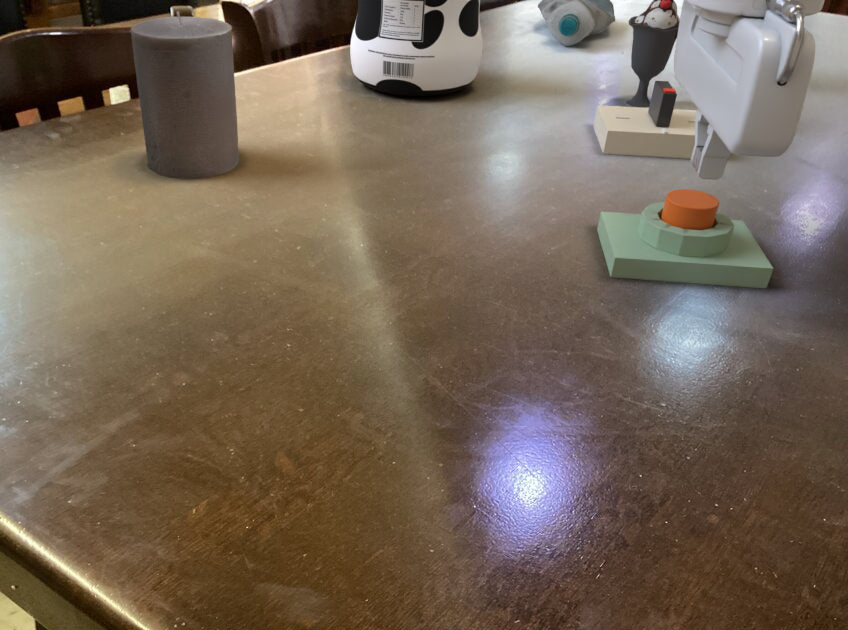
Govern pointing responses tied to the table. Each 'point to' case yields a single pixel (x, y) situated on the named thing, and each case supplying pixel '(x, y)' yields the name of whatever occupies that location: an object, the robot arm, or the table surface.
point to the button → (690, 209)
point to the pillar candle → (187, 95)
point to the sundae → (652, 45)
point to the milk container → (416, 45)
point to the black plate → (662, 103)
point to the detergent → (576, 18)
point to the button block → (682, 250)
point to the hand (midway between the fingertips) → (705, 172)
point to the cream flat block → (644, 132)
